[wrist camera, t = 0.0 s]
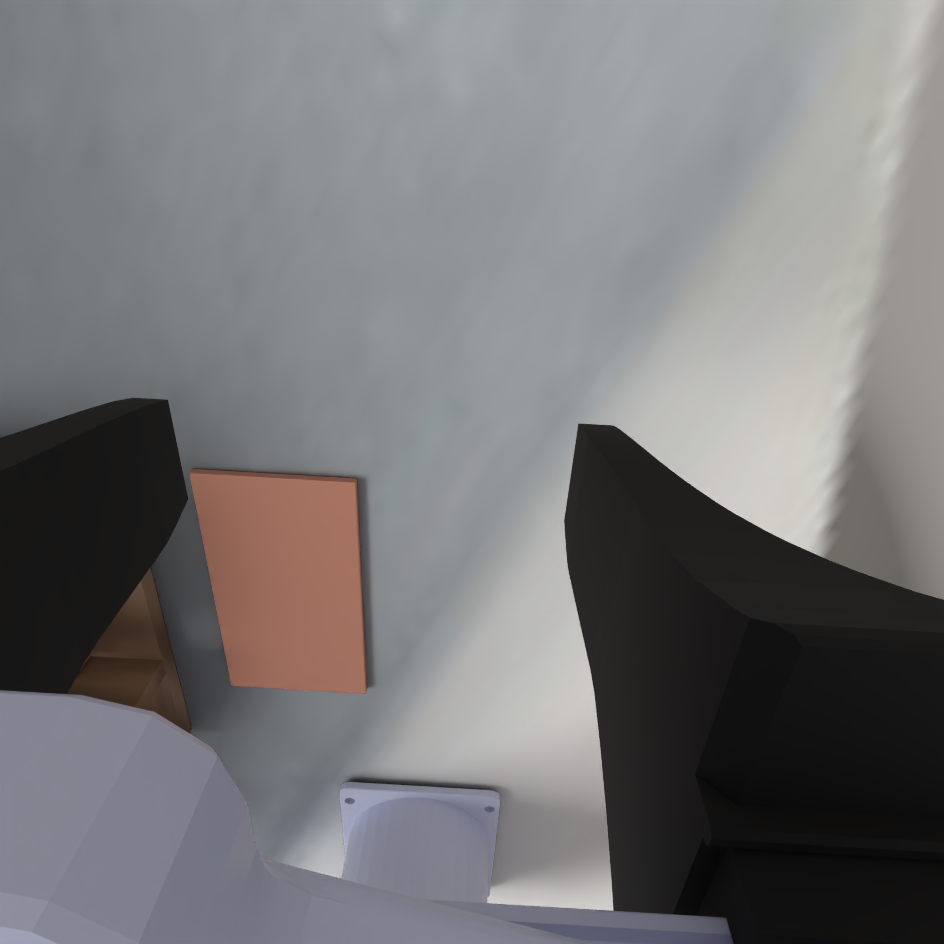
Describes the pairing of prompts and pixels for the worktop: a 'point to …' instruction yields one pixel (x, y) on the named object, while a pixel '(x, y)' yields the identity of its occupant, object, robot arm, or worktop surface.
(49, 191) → the worktop surface
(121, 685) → the rack
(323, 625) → the mat
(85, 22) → the worktop surface
